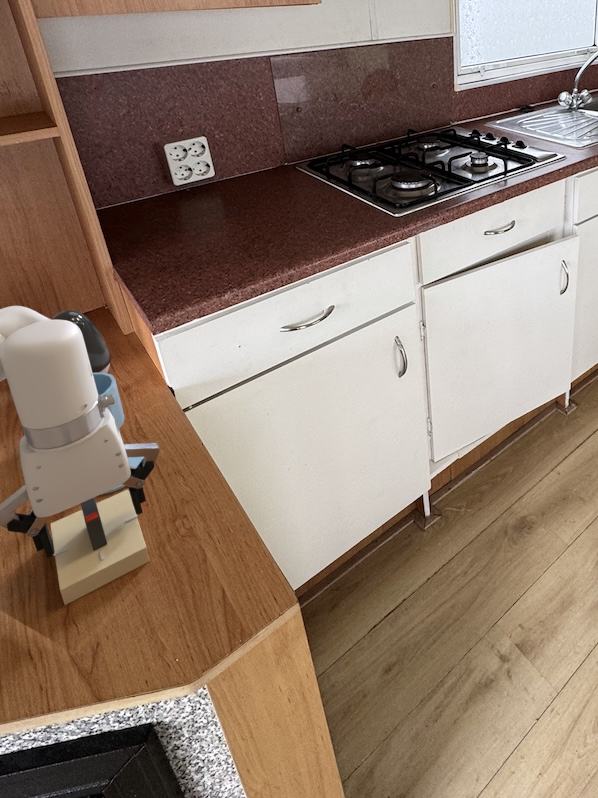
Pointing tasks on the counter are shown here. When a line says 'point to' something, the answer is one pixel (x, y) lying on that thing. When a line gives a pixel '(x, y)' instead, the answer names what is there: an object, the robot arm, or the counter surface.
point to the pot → (106, 387)
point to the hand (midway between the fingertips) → (95, 527)
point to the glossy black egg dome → (89, 340)
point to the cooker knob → (93, 524)
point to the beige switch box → (105, 564)
